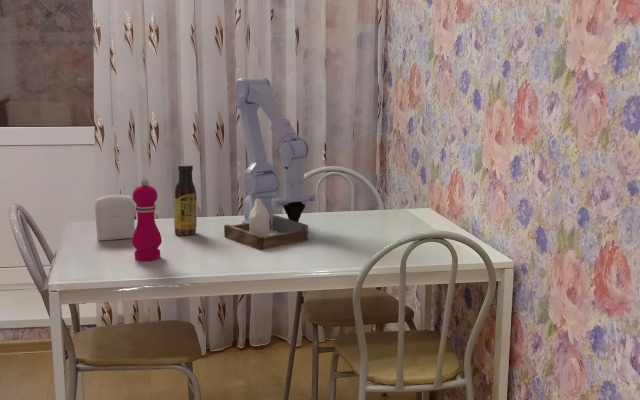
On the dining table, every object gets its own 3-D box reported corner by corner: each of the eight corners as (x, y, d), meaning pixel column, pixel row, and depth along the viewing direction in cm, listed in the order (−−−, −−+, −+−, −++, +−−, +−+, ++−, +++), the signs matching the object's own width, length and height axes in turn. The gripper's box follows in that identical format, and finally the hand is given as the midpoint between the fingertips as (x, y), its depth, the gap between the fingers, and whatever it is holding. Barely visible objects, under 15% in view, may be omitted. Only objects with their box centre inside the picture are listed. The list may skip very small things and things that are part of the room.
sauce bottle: (181, 237, 197) (179, 167, 194) (170, 233, 202) (168, 164, 198) (201, 233, 202) (200, 165, 198) (190, 229, 206) (188, 162, 202)
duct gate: (306, 238, 197) (306, 224, 196) (302, 239, 196) (302, 225, 195) (275, 228, 208) (275, 215, 207) (272, 229, 207) (272, 215, 207)
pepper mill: (137, 253, 181) (134, 176, 177) (165, 253, 181) (162, 177, 177) (129, 261, 174) (125, 181, 170) (158, 261, 174) (155, 182, 170)
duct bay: (224, 237, 198) (224, 222, 197) (272, 228, 209) (272, 214, 208) (260, 250, 185) (260, 234, 184) (309, 240, 196) (309, 225, 195)
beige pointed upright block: (268, 200, 189) (247, 200, 190) (268, 243, 192) (248, 243, 192) (270, 196, 195) (250, 196, 195) (270, 238, 198) (250, 237, 198)
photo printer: (97, 241, 192) (94, 197, 190) (96, 238, 196) (94, 194, 194) (135, 239, 195) (133, 195, 193) (134, 235, 199) (133, 192, 197)
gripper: (281, 186, 193) (281, 234, 195) (322, 181, 202) (321, 227, 204) (266, 182, 198) (267, 229, 201) (306, 177, 207) (306, 222, 210)
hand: (293, 228), depth 203 cm, fingers closed
